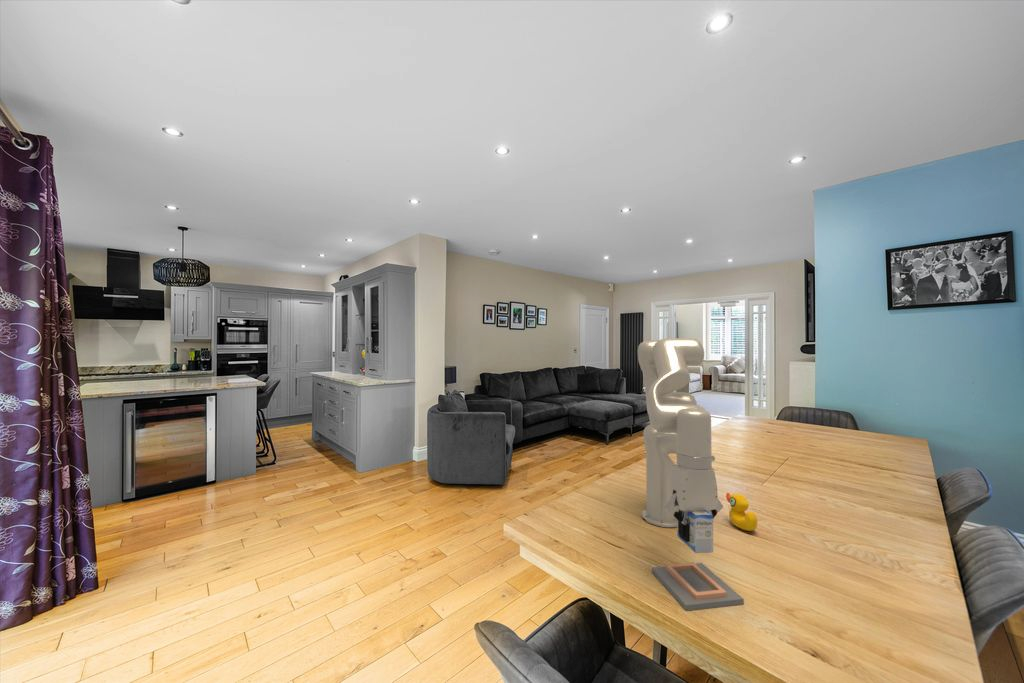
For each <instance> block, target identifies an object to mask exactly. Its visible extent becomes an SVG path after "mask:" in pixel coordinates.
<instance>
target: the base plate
mask: <svg viewBox="0 0 1024 683" xmlns="http://www.w3.org/2000/svg"><path fill="white" fill-rule="evenodd" d="M651 574H653V575H654V577H655V578H656V579H657V580H658V581H659V582H660V583H661V585H662V586H664V587H665V589H666V590H667V591H668V592H669V593H670V595H671V596H672V597H673V598H674V599H675V600H676V601H677V603H678V604H679V605H680V606H681V607H682V608H683V609H684V610H685V611H686V612H690V611H696V610H697V611H699V610H705V609H707V610H708V609H715V608H716V609H717V608H724V607H731V606H732V607H733V606H742V605H744V604H745V603H744V602H745V600H744V597H742V596H741V595H740V594H739V593H738V592H736V591H735V590H734V589H733V588H732V587H731V586H729V585H728V584H727V583H726V582H725V581H724V580H722V579H721V578H720V577H719V576H717V574H715V573H714V572H713V571H712V570H711V569H710V568H708V567H707V566H706V565H705V564H704V563H703V562H696V563H694V562H685V563H677V564H676V563H674V564H666V565H663V566H655V567H651Z"/></svg>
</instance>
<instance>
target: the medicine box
mask: <svg viewBox="0 0 1024 683" xmlns="http://www.w3.org/2000/svg"><path fill="white" fill-rule="evenodd" d="M682 516H683V514H682ZM687 524H688V525H689V526H690V541H689V542H686V541H684V540H683V539H682V538H681V537H680V536H679V533H678V526H677V527H676V528H677V531H676V532H677V533H676V534H677V537H678V539H680V540H681V541H682V542H683V543H684V544H685V545H686V546H687V547H688V548H690V550H692V551H693V552H694V553H695V554H711V553H714V518H713V515H711V514H710V513H709V512H707V511H691V512H689V517H688V521H687Z"/></svg>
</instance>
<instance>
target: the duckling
mask: <svg viewBox="0 0 1024 683" xmlns="http://www.w3.org/2000/svg"><path fill="white" fill-rule="evenodd" d="M725 495H726V496H725V497H726V500H727V502H728V503H729V505H730V507H731V508H730V509H729V511H728V515H729V519H730V520H731V523H732V524H733V525H734V526H736V527H737V528H739V529H741V530H742V531H748V532H751V531H752V532H753V531H755V530H756V529H757V527H758V518H757V516H756V513H754V512H752V511H748V512H747V513H746V511H747V510H748V508H749V502H748V500H747V498H746V497H745V496H744V495H742V494H739V493H735V494H730V492H726V494H725Z"/></svg>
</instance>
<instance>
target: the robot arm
mask: <svg viewBox="0 0 1024 683" xmlns="http://www.w3.org/2000/svg"><path fill="white" fill-rule="evenodd" d="M637 359H638V364H639V367H640V369H641V372H642V375H643V377H644V383H645V386H644V387H645V399H646V400H645V401H646V403H645V404H646V410H647V411H646V412H647V415H648V417H649V418H648V419H649V422H650V424H648V425H646V426H645V427H644V429H643V442H644V448H645V461H646V466H645V467H646V471H645V473H646V478H645V480H646V508H644V509H643V510H642V511H641V518H642V519H643V518H644V519H645V520H646V522H647V523H649V524H651V525H653V526H657V527H662V528H677V526H678V533H679V536H680V537H681V538H682V539H683V540H684V541H686V542H689V541H690V526H689V525H688V524H687V521H688V517H689V512H691V511H707V512H709V513H710V514H711V515H713V519H715V517H716V516H717V514H718V513H719V512H720V511H721V510H723V509H724V505H723V503H722V502H721V501H720V499H719V497H718V496H719V495H718V494H719V493H718V484H717V477H716V473H715V469H714V467H712V466H713V464H712V462H715V461H716V457H715V455H712V417H711V414H710V413H709V411H707V410H706V409H705V408H704V407H703V406H701V405H699V404H698V403H697V400H696V398H695V396H694V395H693V394H692V393H689V392H684V391H681V392H680V391H678V390H681V389H683V388H684V387H686V386H687V385H688V384H689V382H690V380H691V374H690V372H689V368H688V366H696V367H697V366H700V365H701V364H703V362H704V360H705V348H704V346H703V344H702V343H701V341H699V340H698V339H696V338H692V337H691V338H690V337H688V338H687V337H686V338H679V337H677V338H676V337H674V338H671V337H670V338H662V339H652V340H645V341H642V342H641V343H639V345H638V346H637ZM671 454H673V455H675V454H676V463H675V461H674V460H673V459H672V458H671V457H670V456H669V455H671ZM682 514H683V516H682ZM644 519H643V520H644ZM645 520H644V521H645Z"/></svg>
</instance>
